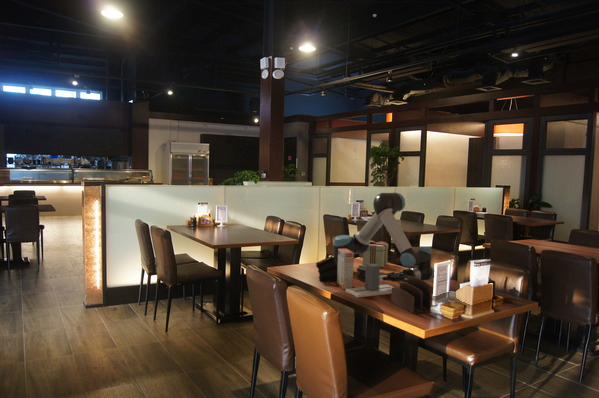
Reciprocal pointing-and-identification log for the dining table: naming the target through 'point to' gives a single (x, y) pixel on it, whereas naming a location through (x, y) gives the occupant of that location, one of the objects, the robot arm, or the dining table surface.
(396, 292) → the letter holder
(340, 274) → the cracker box
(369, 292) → the switch board
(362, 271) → the electrical switch
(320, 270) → the black piece
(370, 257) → the gift box
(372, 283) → the slider knob
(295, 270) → the dining table surface
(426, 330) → the dining table surface
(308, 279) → the dining table surface
